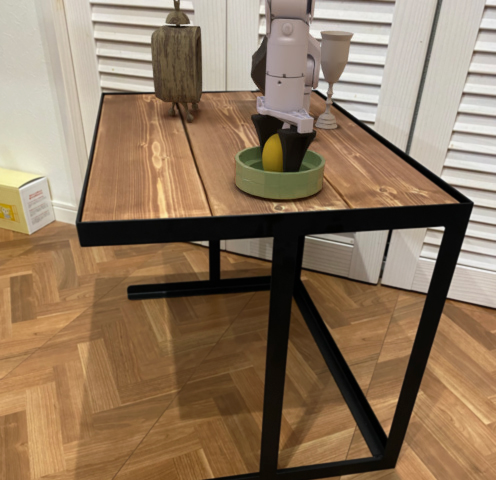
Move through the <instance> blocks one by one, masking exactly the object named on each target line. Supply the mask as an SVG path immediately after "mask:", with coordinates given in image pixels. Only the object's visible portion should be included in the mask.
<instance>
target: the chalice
mask: <svg viewBox="0 0 496 480" xmlns="http://www.w3.org/2000/svg"><path fill="white" fill-rule="evenodd" d="M319 33H320V37H321V43H320V47H321V63H320V70H321V72H322V76H323V79H324V82H326V83H328V88H327V91H326V97H327V98H326V100H325V101H324V103H325V111H324V112H323V113H320V114H319V116H318V118H317V119H316V122H315V124H314V127H316V128H319V129H324V130H335V129H337V128H338V124H337V120H336V116H335V115H334V114H333V113H332V112H331V106H332V105H333V103H334V102H333V101H332V97H333V95H334V91H333V89H334V85H335V84H336V83H338V82H339V80H340V78H341V77H342V75H343V73H344V71H345V68H346V66H347V64H348V61H349V55H350V49H351V47H350V46H351V41H352V38H353V36H354V35H355V34H354V33H353V32H350V31H344V30H322V31H320V32H319Z"/></svg>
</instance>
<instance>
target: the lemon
mask: <svg viewBox="0 0 496 480" xmlns="http://www.w3.org/2000/svg"><path fill="white" fill-rule="evenodd" d="M262 163H263V168H264V170H265V171H269V172H280V173H284V172H283V153H282V146H281V142H280V138H279V136H278V133H277V134H275V135H273V136H271V137H270V138H269V139H268V140H267V142H266V143H265V146H264V149H263V154H262Z"/></svg>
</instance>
